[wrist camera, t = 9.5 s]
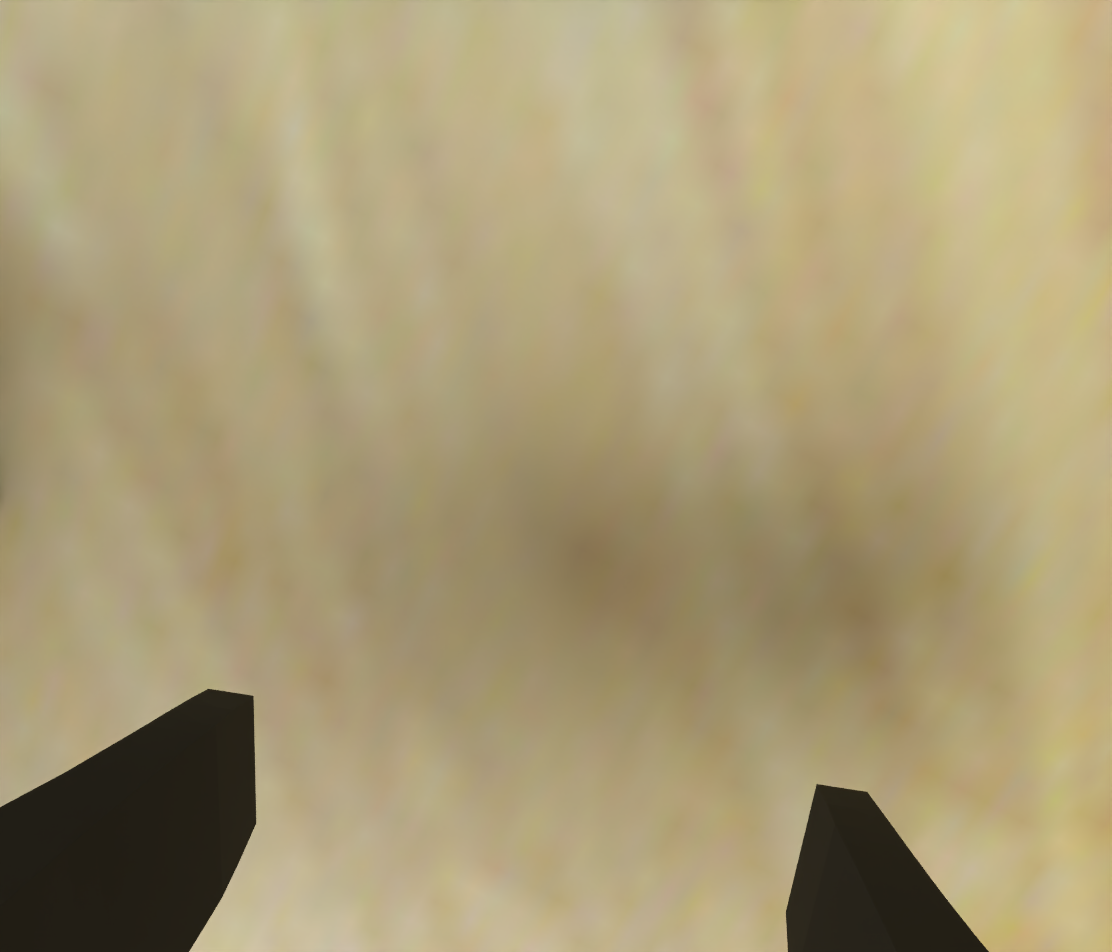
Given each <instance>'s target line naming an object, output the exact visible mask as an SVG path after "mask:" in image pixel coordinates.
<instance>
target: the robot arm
mask: <svg viewBox="0 0 1112 952" xmlns="http://www.w3.org/2000/svg"><path fill="white" fill-rule="evenodd" d="M255 825H256V793H255V747H254V700H253V696H250V695H244V694H238V693H231V692H225V691H219V690H212V689H207V690H205V691H204V692H202V693H200V694H198V695H196V696H194V697H192V698H191V699H189V700H187V701H185V702H184V703H182V704H180V705H179V706H177V707H175V708H174V709H172V710H170V711H168V712H167V713H165V714H163V715H162V716H160V717H158V718H157V719H155V720H153V721H152V722H150V723H148V724H147V725H145V726H143V727H142V728H140V729H138V730H137V731H135V732H133V733H132V734H130V735H128V736H127V737H125V738H123V739H122V740H120V741H118V742H117V743H115V744H113V745H111V746H110V747H108V748H106V749H105V750H103V751H101V752H99V753H98V754H96V755H94V756H93V757H91V758H89V759H87V760H86V761H84V762H82V763H81V764H79V765H77V766H76V767H74V768H72V769H70V770H69V771H67V772H65V773H63V774H62V775H60V776H58V777H56V778H54V779H52V780H50V781H48V782H47V783H45V784H43V785H41V786H39V787H37V788H35V789H33V790H32V791H30V792H28V793H26V794H24V795H22V796H20V797H19V798H17V799H15V800H13V801H11V802H9V803H7V804H5V805H4V806H2V807H0V952H189V951H190V949H191V948H192V946H193V944H194V943H195V941H196V939H197V938H198V936H199V935H200V933H201V931H202V930H203V928H204V926H205V925H206V923H207V921H208V920H209V918H210V917H211V915H212V913H213V912H214V910H215V908H216V907H217V905H218V903H219V902H220V900H221V898H222V897H223V894H224V892H225V890H226V888H227V886H228V884H229V882H230V880H231V878H232V876H233V873H234V871H235V869H236V867H237V865H238V863H239V861H240V858H241V856H242V854H243V852H244V849H245V847H246V845H247V843H248V840H249V838H250V836H251V834H252V831H253V829H254V827H255ZM786 923H787V941H788V952H988V950H987V949H986V948H985V947H984V945H983V944H982V943H981V942H980V941H979V939H978V938H977V937H976V936H975V935H974V933H973V932H972V931H971V930H970V928H969V927H968V926H967V924H966V923H965V922H964V921H963V919H962V918H961V917H960V916H959V914H958V913H957V912H956V911H955V909H954V908H953V907H952V906H951V904H950V903H949V902H948V900H947V899H946V898H945V897H944V895H943V894H942V893H941V891H940V890H939V889H938V887H937V886H936V885H935V883H934V882H933V881H932V879H931V878H930V877H929V875H928V874H927V873H926V871H925V870H924V869H923V867H922V866H921V865H920V863H919V862H918V861H917V859H916V858H915V857H914V855H913V854H912V852H911V851H910V850H909V848H908V847H907V846H906V844H905V843H904V842H903V840H902V839H901V837H900V836H899V835H898V833H897V832H896V831H895V829H894V828H893V826H892V825H891V824H890V822H889V821H888V820H887V818H886V817H885V816H884V814H883V813H882V811H881V810H880V809H879V807H878V806H877V805H876V803H875V802H874V801H873V799H872V798H871V797H870V795H869V794H868V793H867V792H863V791H857V790H850V789H844V788H838V787H831V786H825V785H818V784H817V785H816V790H815V794H814V798H813V802H812V806H811V810H810V814H809V819H808V823H807V827H806V831H805V835H804V839H803V843H802V848H801V852H800V856H799V860H798V864H797V868H796V872H795V877H794V881H793V885H792V889H791V893H790V897H789V901H788V906H787V910H786Z"/></svg>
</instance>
